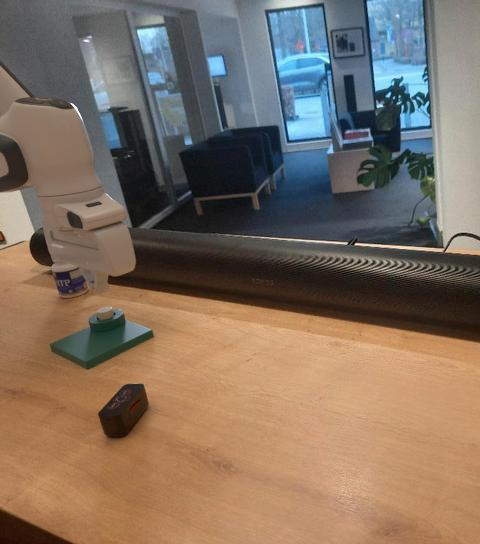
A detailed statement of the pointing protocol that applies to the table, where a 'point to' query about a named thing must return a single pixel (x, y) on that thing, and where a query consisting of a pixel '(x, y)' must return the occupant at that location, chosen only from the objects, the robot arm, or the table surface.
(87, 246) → the robot arm
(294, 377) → the table surface
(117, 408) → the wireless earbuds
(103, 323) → the scale
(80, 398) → the table surface
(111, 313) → the button
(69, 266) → the pill bottle
